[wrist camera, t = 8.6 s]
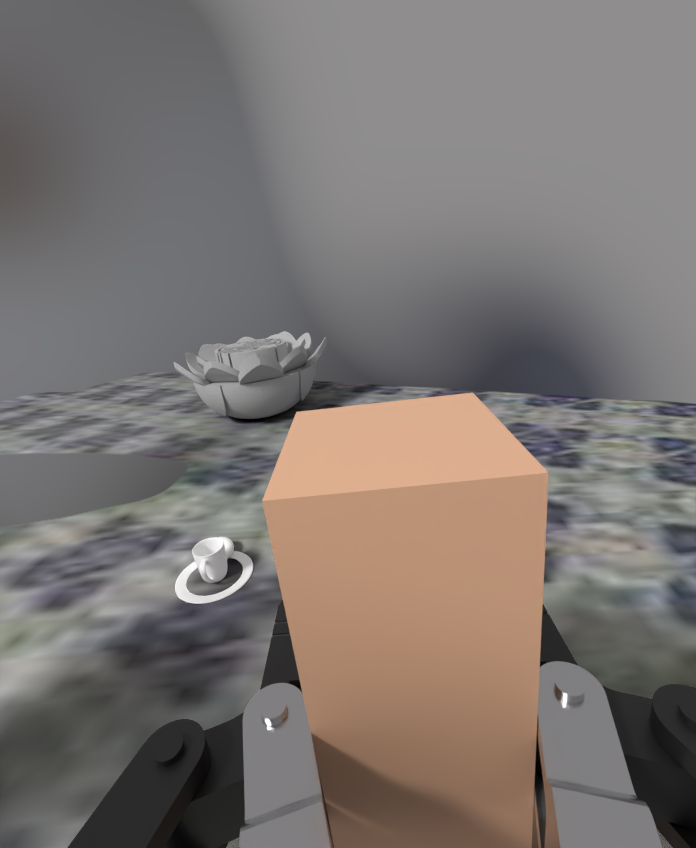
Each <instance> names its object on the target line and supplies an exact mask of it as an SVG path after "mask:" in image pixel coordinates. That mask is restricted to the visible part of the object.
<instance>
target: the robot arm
mask: <svg viewBox="0 0 696 848" xmlns="http://www.w3.org/2000/svg"><path fill="white" fill-rule="evenodd" d="M272 635H273V637H272V638H271V643H270V648H269V652H268V657H267V662H266V666H265V671H264V676H263V680H262V685H261V688H260V691H258V692H257V693H256V694H255V695H254V696H253V697H252V698H251V699H250V701H249V702H248V704H247V706H246V708H245V710H244V712H243V713H242V714H241V715H239V716H237V717H236V718H234V719H232V720H230V721H228V722H225V723H223V724H220V725H218V726H215V727H213V728H210V729H208V730H205V731H203V729H202V727H201V726H200V725H199V724H198V723H197V722H195V721H193V720H188V719H181V720H176V721H173V722H170V723H168V724H166V725H164V726H163V727H161V728H160V729H158V730H157V731H156V732H154V733H153V734H152V735H151V736H150V737H149V738H148V740H147V741H146V742H145V743H144V745H143V746H142V747H141V749H140V750H139V751H138V753H137V754H136V755H135V757H134V758H133V759H132V761H131V762H130V764H129V765H128V766H127V768H126V769H125V770H124V772H123V773H122V774H121V776H120V777H119V778H118V780H117V781H116V783H115V784H114V785H113V787H112V788H111V789H110V791H109V792H108V793H107V795H106V796H105V797H104V799H103V800H102V802H101V803H100V804H99V806H98V807H97V808H96V810H95V811H94V812H93V814H92V815H91V816H90V818H89V819H88V821H87V822H86V823H85V825H84V826H83V827H82V829H81V830H80V831H79V833H78V834H77V835H76V837H75V838H74V840H73V841H72V842H71V844H70V845H69V846H68V848H226V846H227V844H228V842H230V841H232V840H234V839H236V838H238V837H239V848H334V844H333V838H332V833H331V827H330V822H329V816H328V812H327V807H326V803H325V799H324V794H323V789H322V784H321V780H320V775H319V770H318V765H317V761H316V755H315V749H314V745H313V740H312V735H311V732H310V727H309V722H308V717H307V713H306V708H305V703H304V698H303V694H302V689H301V684H300V679H299V674H298V670H297V665H296V660H295V655H294V650H293V646H292V641H291V636H290V631H289V627H288V622H287V617H286V612H285V607H284V603H283V600H282V602H281V603H280V605H279V606H278V611H277V615H276V620H275V625H274V629H273V634H272ZM534 808H535V817H536V827H537V837H538V846H539V848H662V845H661V841H660V838H659V835H658V832H657V829H658V830H659V832H660V833H661V834H662V835H663V836H664V837H665V839H666V840H667V841H668V842H669V843H670V845H671V846H672V847H673V848H696V689H695V688H693V687H689V686H685V685H679V684H671V685H665V686H662V687H660V688H659V689H658V690H657V691H656V692H655V693H654V696H653V699H649V698H644V697H639V696H635V695H630V694H625V693H621V692H617V691H614V690H611V689H608V688H606V687H604V686H602V685H601V684H600V682H599V681H598V680H597V679H596V678H595V677H594V676H593V675H592V674H591V673H589V672H588V671H587V670H585V669H583V668H581V667H579V666H578V665H577V663H576V662H575V660H574V658H573V657H572V655H571V653H570V651H569V650H568V648H567V646H566V644H565V642H564V641H563V639H562V637H561V635H560V634H559V632H558V630H557V628H556V626H555V625H554V623H553V621H552V619H551V618H550V616H549V615H548V614H547V610H546V609H545V607H544V605H543V606H542V628H541V650H540V672H539V694H538V716H537V738H536V760H535V782H534Z"/></svg>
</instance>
